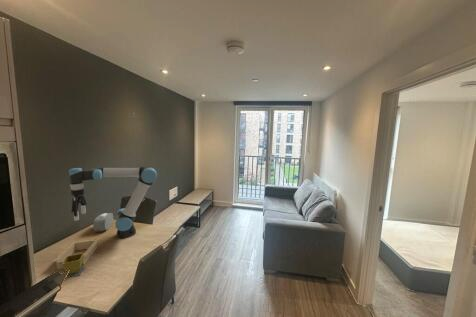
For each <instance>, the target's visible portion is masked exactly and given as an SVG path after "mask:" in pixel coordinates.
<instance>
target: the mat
mask: <svg viewBox="0 0 476 317" xmlns="http://www.w3.org/2000/svg"><path fill="white" fill-rule="evenodd" d="M85 269H86V266H81V268H80V270H79V272H77V273H73V274H68V275H67V277H68V278H70V277H69V276H74V277H78V276H81V274H82V273H83V272H84V270H85ZM67 277H66V278H65V279H68V278H67Z"/></svg>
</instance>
